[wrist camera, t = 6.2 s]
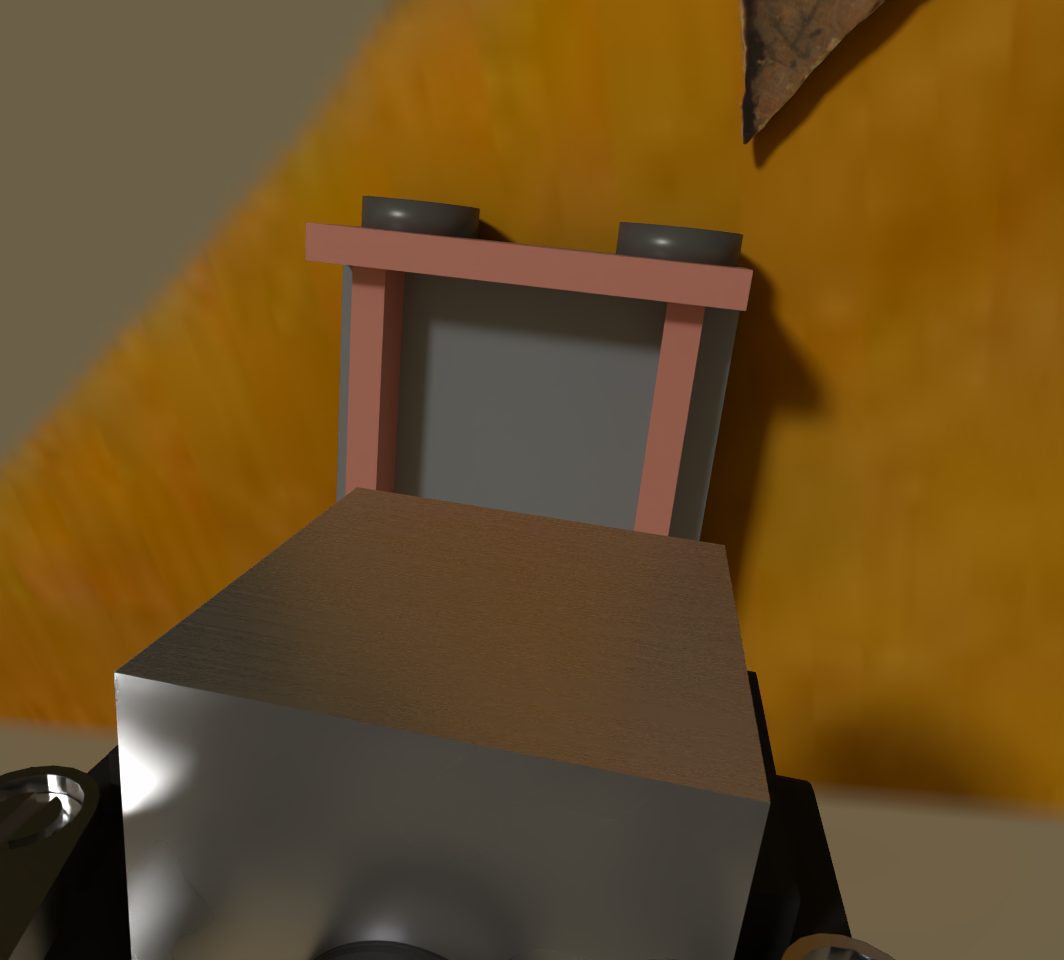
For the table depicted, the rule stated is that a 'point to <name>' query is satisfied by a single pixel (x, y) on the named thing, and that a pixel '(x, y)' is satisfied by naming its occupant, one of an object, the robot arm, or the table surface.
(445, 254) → the chassis
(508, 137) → the table surface
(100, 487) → the table surface
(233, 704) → the cube with metal knob
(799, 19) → the shard
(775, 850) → the robot arm
